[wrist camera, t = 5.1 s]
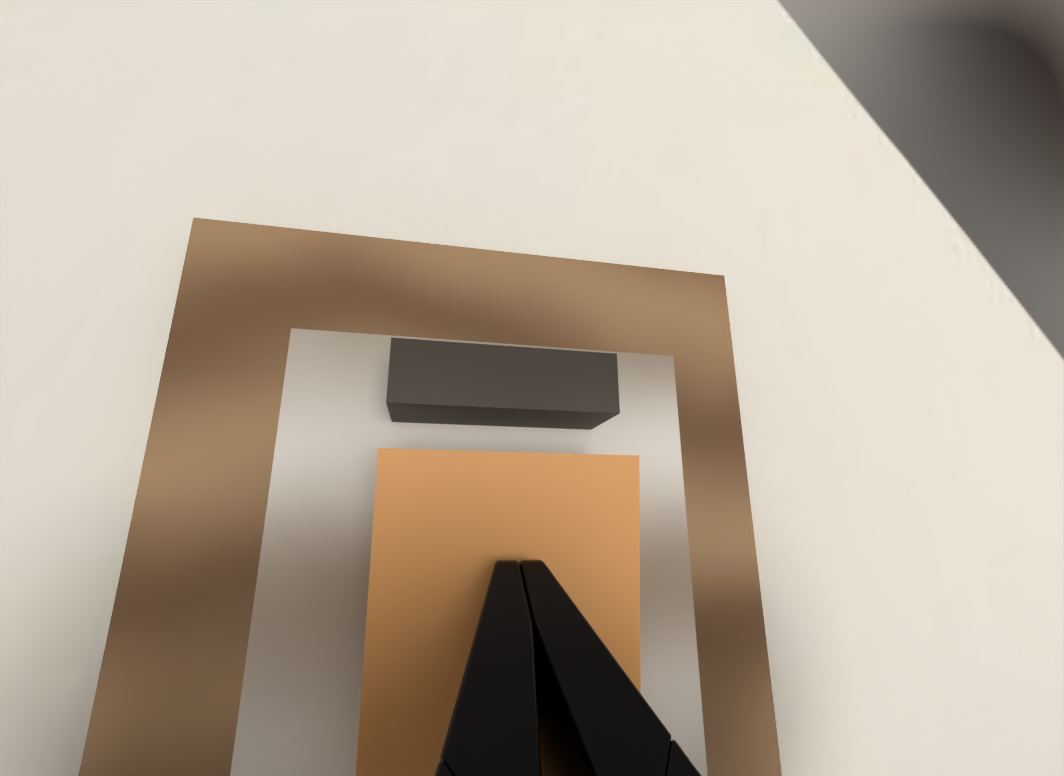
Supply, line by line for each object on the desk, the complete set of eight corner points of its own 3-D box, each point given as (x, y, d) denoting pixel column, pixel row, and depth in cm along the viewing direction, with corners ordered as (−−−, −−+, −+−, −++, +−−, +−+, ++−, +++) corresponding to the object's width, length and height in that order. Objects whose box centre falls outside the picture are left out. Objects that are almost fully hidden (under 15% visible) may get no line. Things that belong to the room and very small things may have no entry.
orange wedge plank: (611, 794, 10) (641, 849, 9) (359, 823, 9) (347, 890, 8) (612, 455, 11) (639, 455, 10) (384, 449, 10) (378, 447, 9)
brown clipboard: (785, 1004, 14) (1034, 1331, 8) (23, 1173, 10) (-460, 1957, 5) (709, 287, 20) (824, 192, 14) (206, 235, 16) (91, 79, 11)
